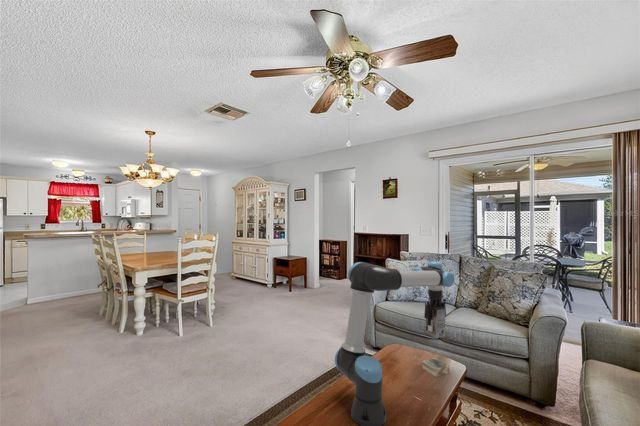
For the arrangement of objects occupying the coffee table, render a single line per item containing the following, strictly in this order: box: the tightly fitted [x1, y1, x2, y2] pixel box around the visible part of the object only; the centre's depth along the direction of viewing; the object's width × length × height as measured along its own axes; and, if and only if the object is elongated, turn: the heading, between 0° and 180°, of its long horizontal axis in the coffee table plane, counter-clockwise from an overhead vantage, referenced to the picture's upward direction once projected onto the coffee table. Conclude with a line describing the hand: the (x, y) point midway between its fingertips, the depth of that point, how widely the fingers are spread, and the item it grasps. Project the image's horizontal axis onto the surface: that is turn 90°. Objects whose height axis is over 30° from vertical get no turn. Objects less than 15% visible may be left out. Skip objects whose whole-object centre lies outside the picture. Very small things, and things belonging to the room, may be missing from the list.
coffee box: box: [425, 306, 446, 339], centre depth 166 cm, size 9×6×16 cm
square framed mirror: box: [422, 357, 450, 378], centre depth 165 cm, size 10×10×4 cm
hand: (435, 329), depth 165 cm, fingers closed on coffee box, 7 cm apart
